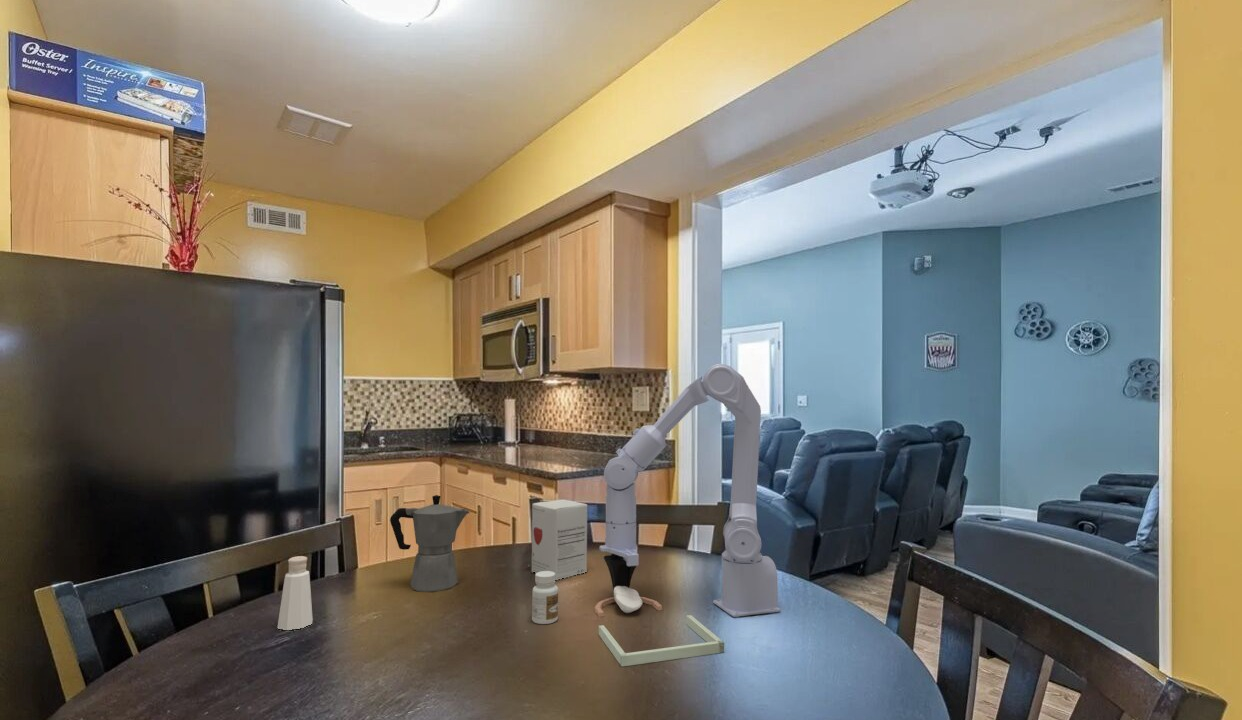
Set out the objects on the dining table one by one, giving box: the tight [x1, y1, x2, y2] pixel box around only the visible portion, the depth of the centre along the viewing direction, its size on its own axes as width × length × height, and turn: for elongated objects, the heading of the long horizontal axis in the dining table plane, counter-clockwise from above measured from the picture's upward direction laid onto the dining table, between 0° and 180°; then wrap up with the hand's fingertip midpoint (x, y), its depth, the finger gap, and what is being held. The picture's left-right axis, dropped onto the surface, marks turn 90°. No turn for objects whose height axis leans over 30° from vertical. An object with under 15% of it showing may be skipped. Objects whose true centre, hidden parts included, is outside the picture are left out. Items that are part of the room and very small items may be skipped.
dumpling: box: [613, 586, 643, 614], centre depth 106 cm, size 7×5×4 cm
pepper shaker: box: [276, 555, 313, 630], centre depth 99 cm, size 5×5×11 cm
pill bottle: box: [531, 571, 559, 625], centre depth 101 cm, size 4×4×8 cm
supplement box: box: [531, 498, 588, 581], centre depth 130 cm, size 9×9×15 cm
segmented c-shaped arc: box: [594, 596, 663, 618], centre depth 108 cm, size 12×7×1 cm, turn 108°
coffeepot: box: [389, 494, 470, 593], centre depth 121 cm, size 15×9×18 cm, turn 102°
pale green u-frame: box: [598, 614, 725, 667], centre depth 91 cm, size 16×12×1 cm
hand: (620, 595), depth 110 cm, fingers closed
